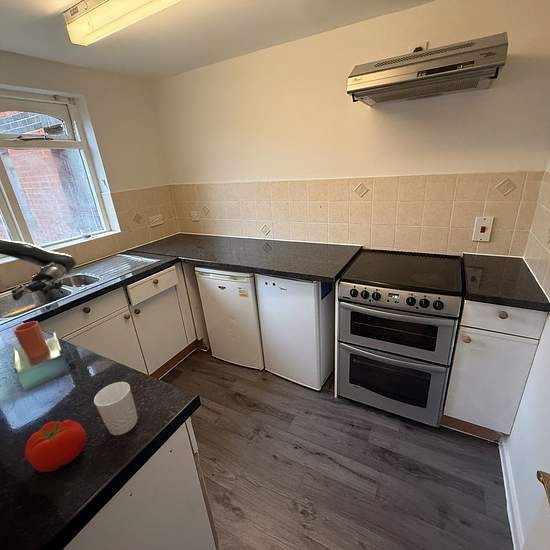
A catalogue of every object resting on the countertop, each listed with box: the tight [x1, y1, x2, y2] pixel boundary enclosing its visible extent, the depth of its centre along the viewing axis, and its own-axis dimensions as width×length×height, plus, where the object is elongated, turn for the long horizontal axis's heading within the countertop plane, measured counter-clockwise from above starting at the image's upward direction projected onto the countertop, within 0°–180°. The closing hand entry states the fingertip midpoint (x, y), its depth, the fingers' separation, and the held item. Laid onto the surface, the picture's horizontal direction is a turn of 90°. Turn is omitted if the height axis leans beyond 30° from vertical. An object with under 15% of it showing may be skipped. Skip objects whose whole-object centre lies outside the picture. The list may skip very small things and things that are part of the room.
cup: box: [13, 320, 49, 358], centre depth 96 cm, size 6×6×10 cm
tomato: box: [24, 419, 87, 473], centre depth 66 cm, size 11×11×9 cm
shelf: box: [12, 332, 71, 392], centre depth 99 cm, size 16×12×8 cm
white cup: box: [93, 381, 139, 436], centre depth 74 cm, size 8×8×10 cm
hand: (29, 295), depth 100 cm, fingers open, 8 cm apart
